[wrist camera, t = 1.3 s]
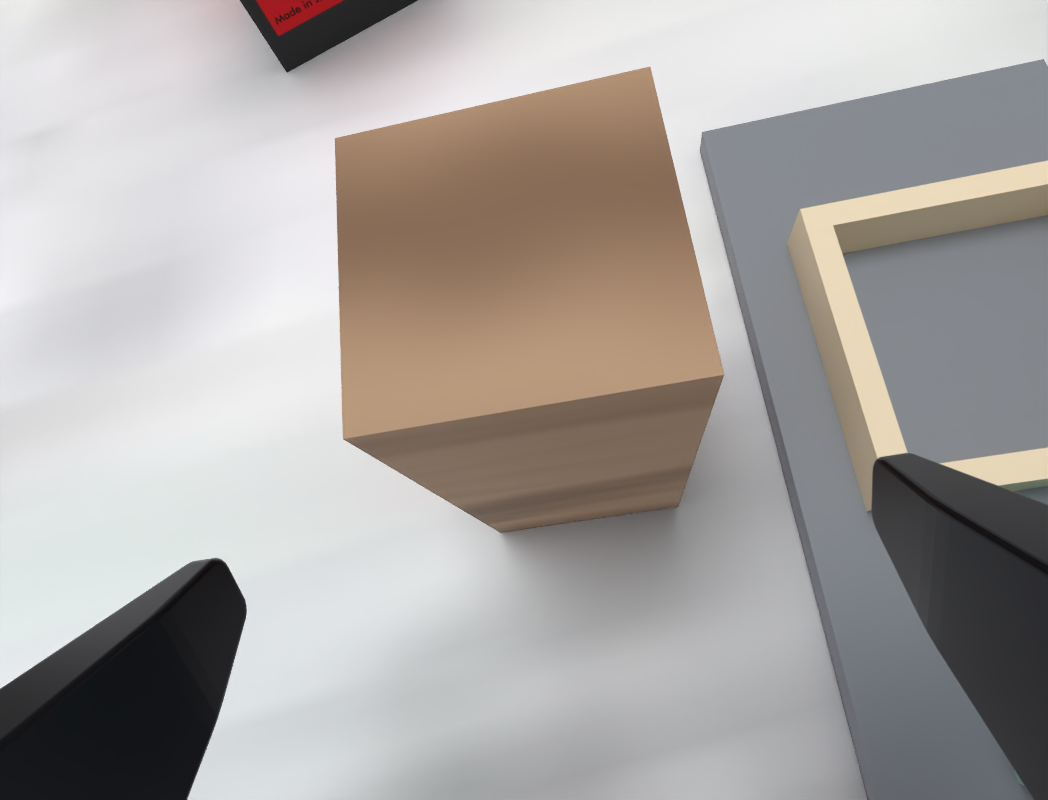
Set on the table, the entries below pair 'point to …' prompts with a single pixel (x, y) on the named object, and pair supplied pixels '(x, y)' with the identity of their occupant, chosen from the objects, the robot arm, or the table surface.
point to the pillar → (525, 305)
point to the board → (896, 365)
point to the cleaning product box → (315, 24)
